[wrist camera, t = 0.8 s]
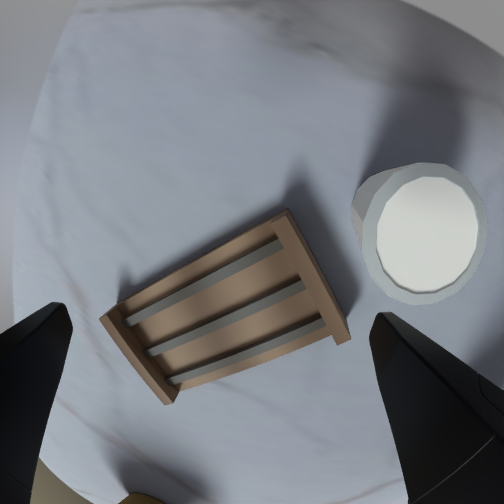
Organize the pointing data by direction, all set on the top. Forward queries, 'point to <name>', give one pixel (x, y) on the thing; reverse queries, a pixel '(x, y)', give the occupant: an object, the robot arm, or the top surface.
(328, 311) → the rack
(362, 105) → the top surface
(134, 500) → the plant pot
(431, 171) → the white tapered cylinder
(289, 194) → the top surface
